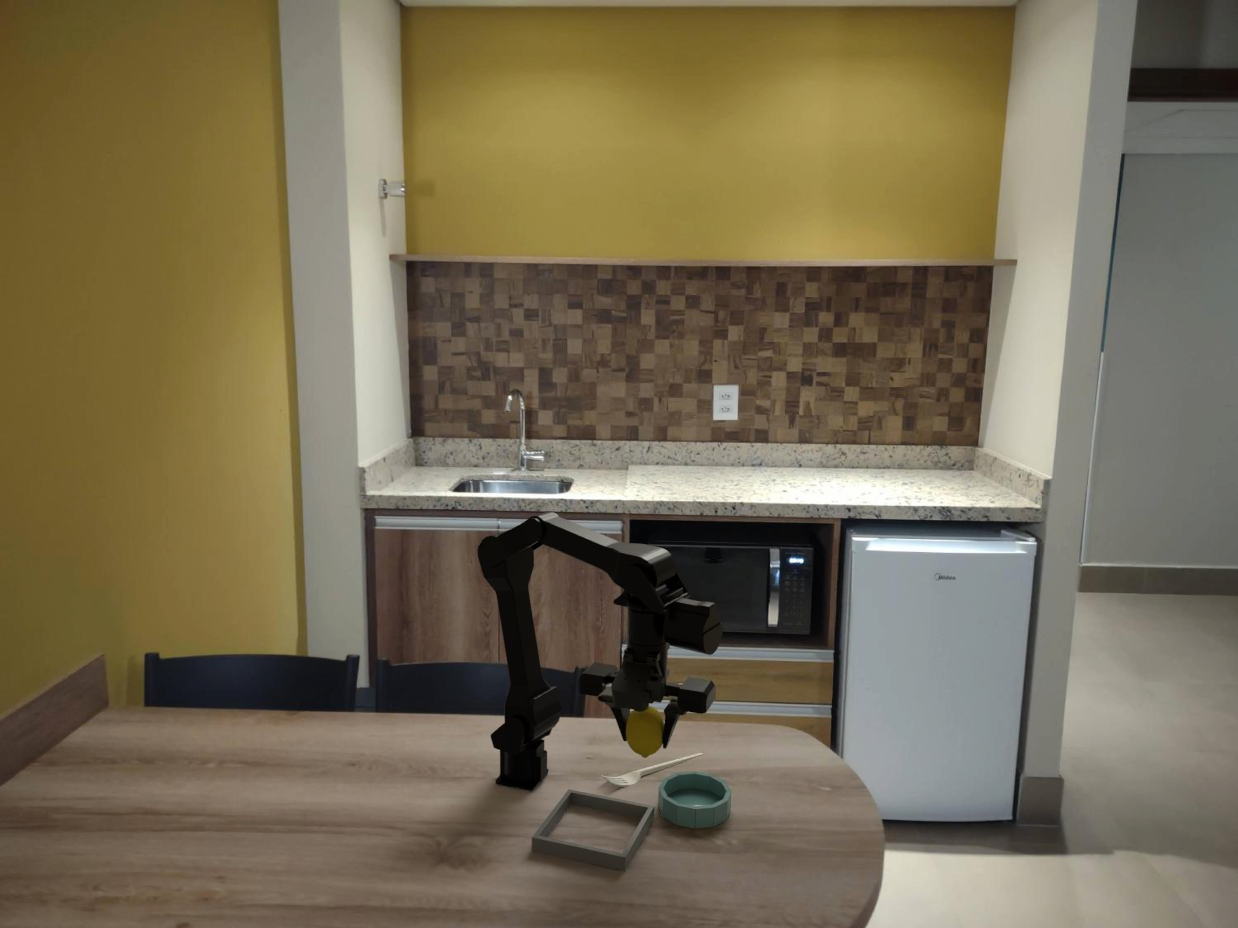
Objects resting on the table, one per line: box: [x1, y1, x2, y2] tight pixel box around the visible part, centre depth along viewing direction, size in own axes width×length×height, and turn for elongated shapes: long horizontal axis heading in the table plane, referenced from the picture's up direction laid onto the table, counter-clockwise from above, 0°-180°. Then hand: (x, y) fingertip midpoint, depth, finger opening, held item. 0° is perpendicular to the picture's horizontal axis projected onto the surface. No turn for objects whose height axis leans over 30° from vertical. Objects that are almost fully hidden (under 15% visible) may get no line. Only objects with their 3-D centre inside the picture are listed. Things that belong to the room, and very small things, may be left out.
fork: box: [600, 752, 704, 788], centre depth 148 cm, size 3×20×2 cm, turn 125°
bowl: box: [657, 771, 732, 829], centre depth 137 cm, size 10×10×3 cm
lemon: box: [626, 705, 665, 759], centre depth 130 cm, size 6×6×8 cm
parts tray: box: [531, 789, 655, 872], centre depth 130 cm, size 13×13×2 cm
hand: (645, 743), depth 131 cm, fingers closed on lemon, 5 cm apart
